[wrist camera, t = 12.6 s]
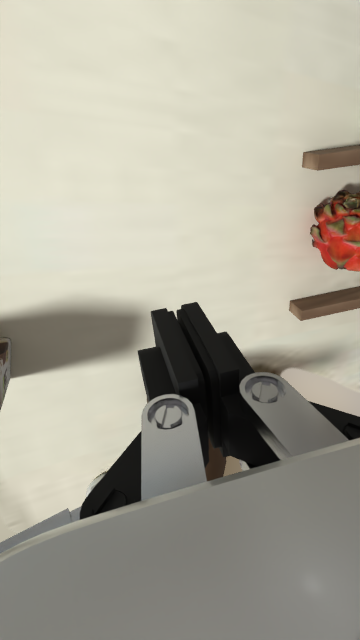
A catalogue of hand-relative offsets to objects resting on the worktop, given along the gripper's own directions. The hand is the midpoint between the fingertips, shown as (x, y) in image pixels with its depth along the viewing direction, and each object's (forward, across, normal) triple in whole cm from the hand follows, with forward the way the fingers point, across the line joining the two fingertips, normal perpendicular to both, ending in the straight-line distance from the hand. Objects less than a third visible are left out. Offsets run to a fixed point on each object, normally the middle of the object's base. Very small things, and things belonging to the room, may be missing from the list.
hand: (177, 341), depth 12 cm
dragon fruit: (+27, -26, +7) cm, 39 cm away
